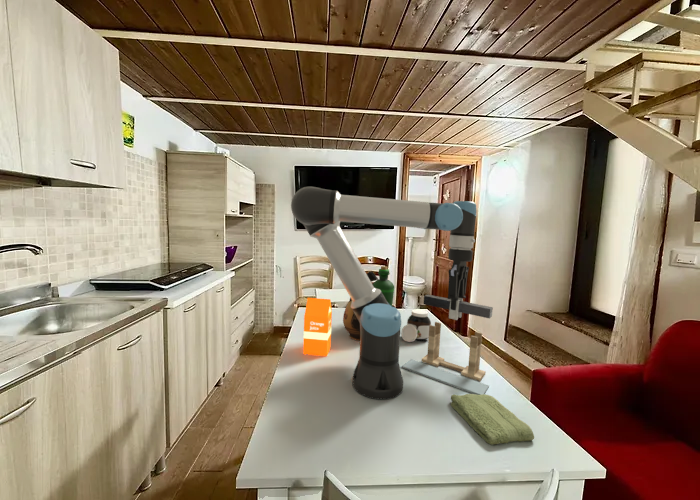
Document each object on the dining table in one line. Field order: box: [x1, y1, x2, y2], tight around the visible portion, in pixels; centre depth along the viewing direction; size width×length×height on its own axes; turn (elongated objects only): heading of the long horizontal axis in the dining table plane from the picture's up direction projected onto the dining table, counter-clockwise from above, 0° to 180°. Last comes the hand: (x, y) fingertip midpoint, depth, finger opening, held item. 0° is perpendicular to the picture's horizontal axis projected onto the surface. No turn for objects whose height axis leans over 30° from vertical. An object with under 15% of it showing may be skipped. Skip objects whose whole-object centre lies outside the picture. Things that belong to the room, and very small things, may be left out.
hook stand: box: [420, 321, 487, 382], centre depth 103 cm, size 6×20×14 cm, turn 52°
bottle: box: [372, 265, 395, 307], centre depth 145 cm, size 11×11×28 cm
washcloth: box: [450, 393, 535, 446], centre depth 77 cm, size 13×18×3 cm
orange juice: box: [302, 297, 333, 357], centre depth 112 cm, size 8×9×20 cm
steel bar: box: [423, 294, 494, 319], centre depth 102 cm, size 3×22×3 cm, turn 52°
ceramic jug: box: [342, 269, 379, 342], centre depth 127 cm, size 17×15×30 cm
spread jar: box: [400, 308, 432, 343], centre depth 128 cm, size 12×11×12 cm
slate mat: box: [401, 358, 490, 395], centre depth 97 cm, size 7×26×1 cm, turn 52°
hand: (455, 317), depth 102 cm, fingers closed on steel bar, 3 cm apart
